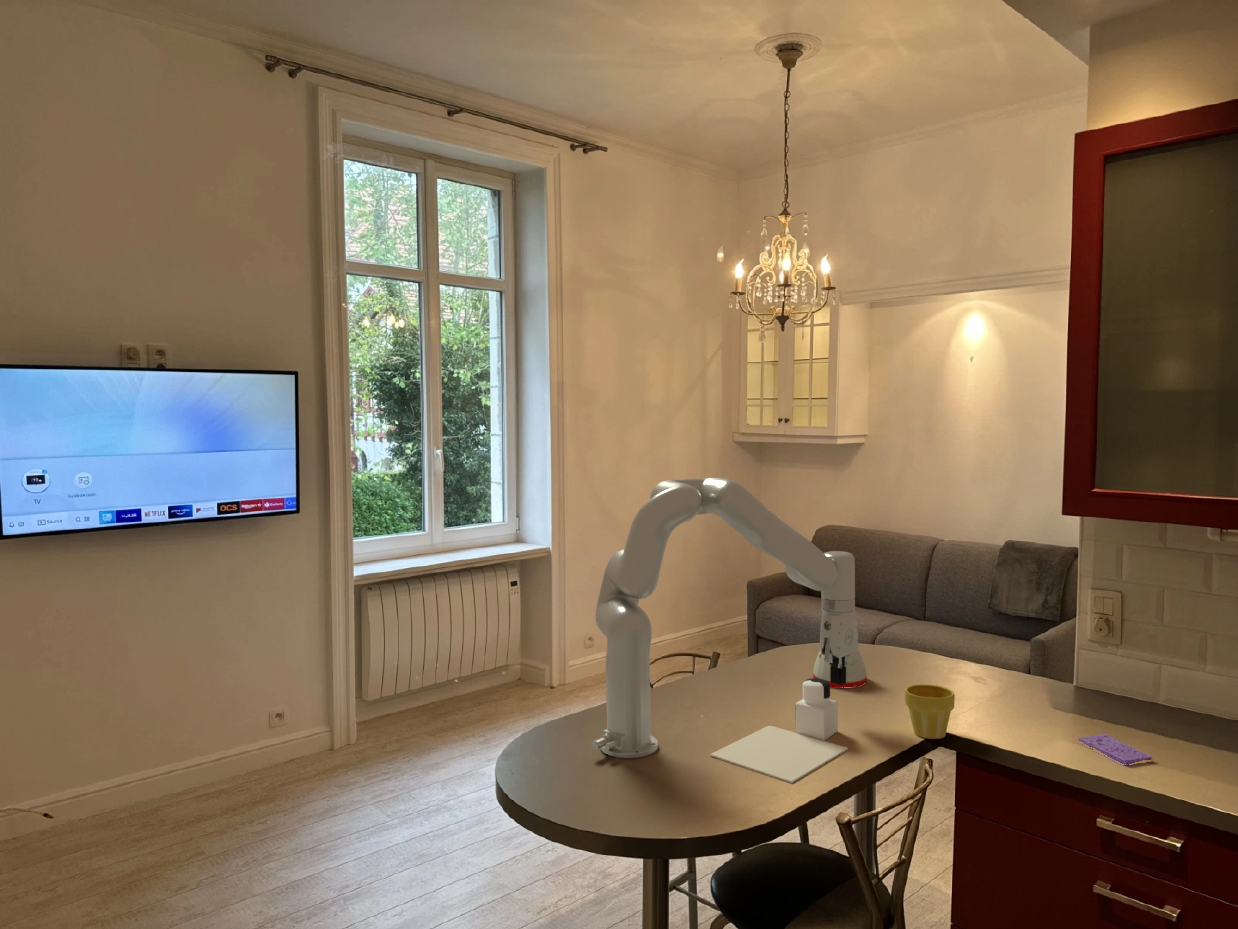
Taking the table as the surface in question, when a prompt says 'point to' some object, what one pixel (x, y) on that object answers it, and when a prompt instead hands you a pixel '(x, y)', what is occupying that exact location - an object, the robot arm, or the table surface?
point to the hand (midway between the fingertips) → (838, 682)
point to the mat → (779, 753)
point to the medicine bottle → (816, 710)
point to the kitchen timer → (853, 670)
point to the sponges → (1115, 749)
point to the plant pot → (929, 709)
